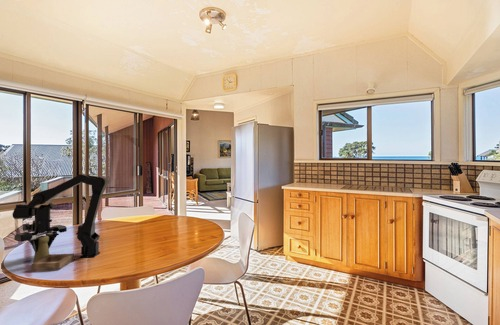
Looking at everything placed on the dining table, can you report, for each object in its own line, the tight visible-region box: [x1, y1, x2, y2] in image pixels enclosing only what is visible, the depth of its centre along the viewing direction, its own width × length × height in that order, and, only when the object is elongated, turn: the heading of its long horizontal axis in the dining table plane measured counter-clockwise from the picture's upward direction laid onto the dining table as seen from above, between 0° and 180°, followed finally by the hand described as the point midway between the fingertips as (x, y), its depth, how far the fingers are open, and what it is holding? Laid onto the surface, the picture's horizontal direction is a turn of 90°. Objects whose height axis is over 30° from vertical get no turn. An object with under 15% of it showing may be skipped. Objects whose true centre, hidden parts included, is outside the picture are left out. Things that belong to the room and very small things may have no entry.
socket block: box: [30, 253, 75, 272], centre depth 110 cm, size 11×11×3 cm
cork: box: [33, 235, 50, 263], centre depth 117 cm, size 6×6×11 cm
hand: (42, 250), depth 117 cm, fingers closed on cork, 4 cm apart
